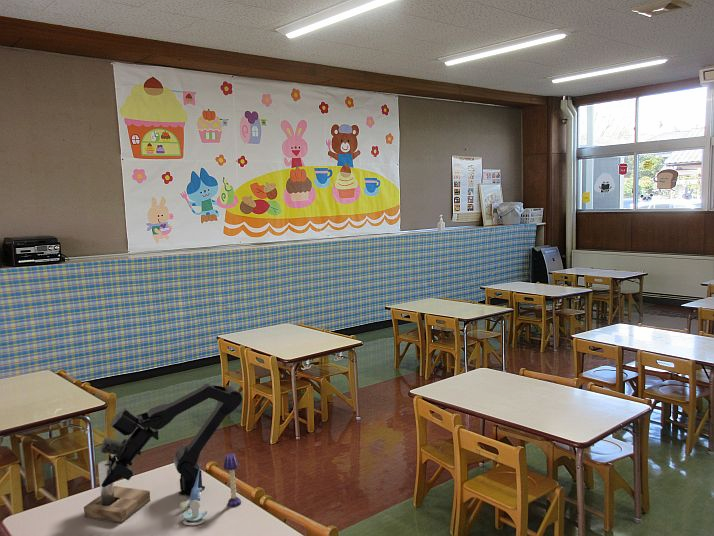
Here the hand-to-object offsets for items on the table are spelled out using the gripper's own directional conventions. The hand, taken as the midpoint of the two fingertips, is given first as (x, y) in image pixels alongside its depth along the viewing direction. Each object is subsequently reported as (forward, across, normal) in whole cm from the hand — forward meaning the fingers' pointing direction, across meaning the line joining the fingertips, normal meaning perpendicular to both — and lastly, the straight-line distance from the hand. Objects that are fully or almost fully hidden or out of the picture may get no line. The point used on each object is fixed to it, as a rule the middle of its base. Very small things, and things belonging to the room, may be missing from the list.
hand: (101, 483), depth 188 cm
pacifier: (-10, +20, +24) cm, 33 cm away
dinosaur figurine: (-11, +9, +26) cm, 29 cm away
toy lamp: (-19, +16, +34) cm, 42 cm away
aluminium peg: (+4, 0, +6) cm, 7 cm away
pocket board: (+4, 0, +10) cm, 10 cm away
